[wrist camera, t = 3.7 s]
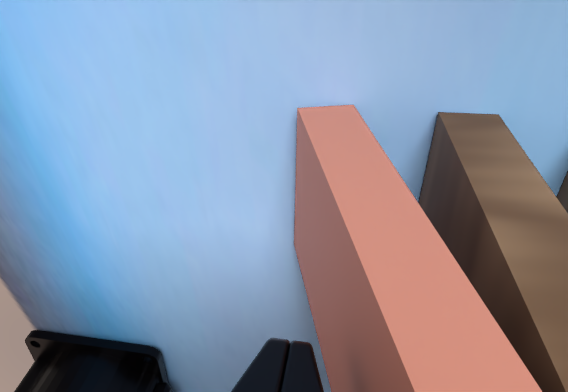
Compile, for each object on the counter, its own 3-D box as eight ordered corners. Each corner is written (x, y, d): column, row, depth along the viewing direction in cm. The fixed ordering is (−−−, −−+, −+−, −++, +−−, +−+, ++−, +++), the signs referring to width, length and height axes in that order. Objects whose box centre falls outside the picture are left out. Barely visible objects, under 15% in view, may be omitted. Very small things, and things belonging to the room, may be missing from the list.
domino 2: (408, 249, 15) (497, 672, 7) (438, 112, 12) (643, 560, 4) (456, 252, 15) (603, 685, 7) (498, 114, 12) (822, 578, 4)
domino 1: (294, 244, 16) (396, 645, 8) (297, 108, 13) (469, 523, 5) (339, 239, 16) (487, 626, 8) (353, 104, 13) (611, 496, 5)
